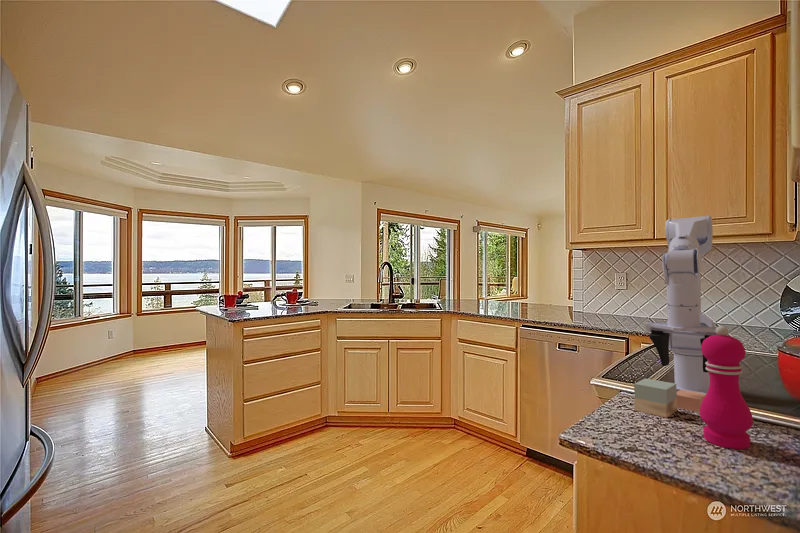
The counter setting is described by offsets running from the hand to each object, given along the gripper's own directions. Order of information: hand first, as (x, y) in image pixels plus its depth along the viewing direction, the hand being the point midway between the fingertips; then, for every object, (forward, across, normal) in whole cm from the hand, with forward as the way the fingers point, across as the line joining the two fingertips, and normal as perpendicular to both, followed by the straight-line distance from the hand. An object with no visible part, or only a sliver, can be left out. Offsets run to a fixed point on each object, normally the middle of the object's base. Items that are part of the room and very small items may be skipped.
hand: (685, 368), depth 87 cm
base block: (+9, -4, -7) cm, 12 cm away
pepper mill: (+8, +10, -14) cm, 20 cm away
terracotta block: (+9, 0, +1) cm, 9 cm away
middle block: (+6, -4, -7) cm, 10 cm away
